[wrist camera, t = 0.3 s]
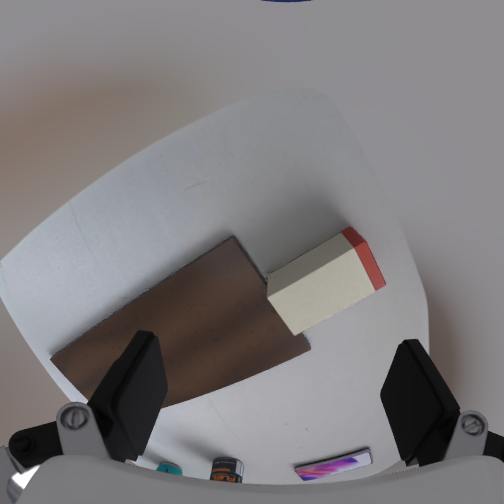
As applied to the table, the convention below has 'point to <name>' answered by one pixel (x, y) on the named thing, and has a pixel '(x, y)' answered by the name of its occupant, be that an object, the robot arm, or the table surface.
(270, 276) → the container
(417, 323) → the table surface
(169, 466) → the beverage can
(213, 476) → the pill bottle
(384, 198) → the table surface
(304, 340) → the board
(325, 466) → the smartphone
